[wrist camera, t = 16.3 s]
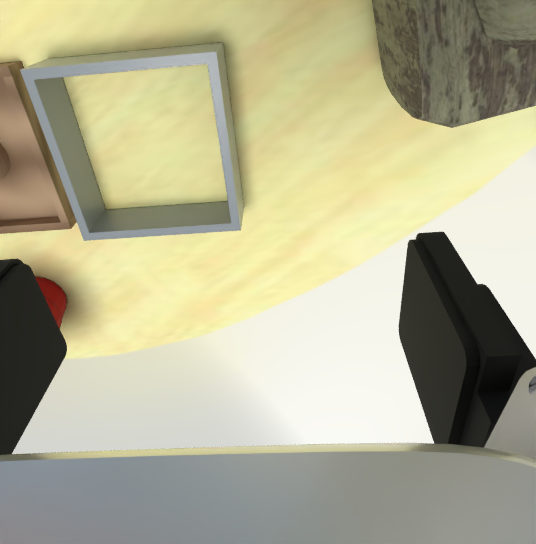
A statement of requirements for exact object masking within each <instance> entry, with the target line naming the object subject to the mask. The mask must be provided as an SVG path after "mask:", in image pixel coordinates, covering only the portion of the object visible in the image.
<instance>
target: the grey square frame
mask: <svg viewBox="0 0 536 544" xmlns="http://www.w3.org/2000/svg"><path fill="white" fill-rule="evenodd" d="M201 64H208V70H209V77H210V84H211V90H212V97H213V104H214V110H215V117H216V124H217V130H218V137H219V144H220V150H221V157H222V164H223V170H224V177H225V184H226V190H227V197H228V201H224V202H210V203H195V204H181V205H167V206H153V207H139V208H124V209H110V210H106V209H105V206H104V203H103V200H102V197H101V194H100V191H99V188H98V184H97V181H96V178H95V175H94V172H93V169H92V166H91V163H90V160H89V157H88V154H87V151H86V148H85V145H84V142H83V139H82V136H81V132H80V129H79V126H78V123H77V120H76V117H75V114H74V111H73V108H72V105H71V102H70V99H69V96H68V93H67V90H66V87H65V84H64V81H63V77H69V76H80V75H91V74H102V73H113V72H124V71H135V70H146V69H157V68H168V67H179V66H190V65H201ZM20 71H21V74H22V77H23V79H24V82H25V85H26V87H27V90H28V93H29V95H30V98H31V101H32V103H33V106H34V109H35V111H36V114H37V117H38V119H39V122H40V125H41V127H42V130H43V133H44V135H45V138H46V141H47V143H48V146H49V149H50V151H51V154H52V157H53V159H54V162H55V165H56V167H57V170H58V173H59V175H60V178H61V181H62V183H63V186H64V189H65V191H66V194H67V197H68V199H69V202H70V205H71V207H72V210H73V213H74V215H75V218H76V221H77V223H78V226H79V229H80V231H81V234H82V237H83V239H84V241H85V240H101V239H116V238H131V237H146V236H161V235H176V234H192V233H207V232H222V231H237V230H241V225H242V218H243V211H244V202H243V195H242V187H241V179H240V171H239V163H238V156H237V148H236V140H235V132H234V125H233V117H232V109H231V101H230V93H229V86H228V78H227V70H226V62H225V55H224V47H223V42H222V43H211V44H201V45H190V46H179V47H169V48H158V49H147V50H137V51H126V52H115V53H105V54H94V55H84V56H73V57H62V58H52V59H46V60H43V61H41V62H38V63H36V64H33V65H31V66H28V67H25V68H23V69H20Z"/></svg>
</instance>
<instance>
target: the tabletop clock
mask: <svg viewBox="0 0 536 544" xmlns="http://www.w3.org/2000/svg"><path fill="white" fill-rule="evenodd" d="M372 2H373V10H374V17H375V24H376V31H377V38H378V46H379V52H380V59H381V65H382V70H383V75H384V79H385V81H386V84H387V86H388V88H389V90H390V92H391V94H392V95H393V96H394V98H395V99H396V100H397V102H398V103H399V104H400V106H401V107H402V108H403V109H404V110H405V111H407V112H408V113H409V114H410V115H411V116H412V117H414V118H416V119H419V120H423V121H427V122H431V123H435V124H439V125H443V126H447V127H451V128H453V127H457V126H461V125H464V124H468V123H472V122H476V121H479V120H483V119H487V118H491V117H494V116H498V115H502V114H506V113H510V112H513V111H517V110H521V109H525V108H528V107H532V106H536V0H372Z"/></svg>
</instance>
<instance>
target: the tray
mask: <svg viewBox="0 0 536 544" xmlns="http://www.w3.org/2000/svg"><path fill="white" fill-rule="evenodd" d="M20 69H23V65H22V62H21V61H20V62H9V63H0V143H1V145H2V146H3V147H4V148H5V150H6V152H7V154H8V156H9V160H10V168H9V171H8V173H7V174H6V175H5V176H4V177H3V178H2V179H0V234H2V233H17V232H32V231H47V230H61V229H71V228H72V227H73V226H74V224H75V223H76V222H77V221H76V218H75V215H74V213H73V210H72V207H71V205H70V202H69V199H68V197H67V194H66V191H65V189H64V186H63V183H62V181H61V178H60V175H59V173H58V170H57V167H56V165H55V162H54V159H53V157H52V154H51V151H50V149H49V146H48V143H47V141H46V138H45V135H44V133H43V130H42V127H41V125H40V122H39V119H38V117H37V114H36V111H35V109H34V106H33V103H32V101H31V98H30V95H29V93H28V90H27V87H26V85H25V82H24V79H23V77H22V74H21V71H20Z"/></svg>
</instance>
